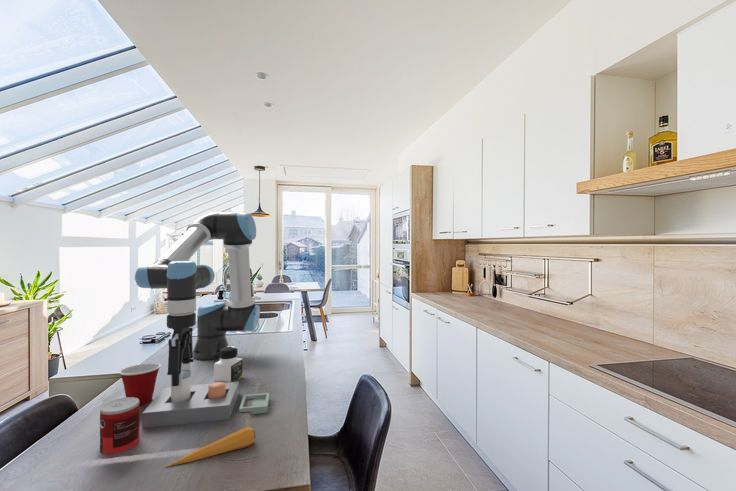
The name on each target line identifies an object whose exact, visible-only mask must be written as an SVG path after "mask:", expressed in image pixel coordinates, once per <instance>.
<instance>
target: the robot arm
mask: <svg viewBox="0 0 736 491" xmlns="http://www.w3.org/2000/svg"><path fill="white" fill-rule="evenodd" d="M256 238H257V226H256V222H255V219H254V217H253V216H252V214H250V213H247V212H240V211H239V212H234V211H233V212H218V211H217V212H209V213H207V214H204V215H202V216H200V217H198V218H196V219H195V220H194V221H192V222H191V223H190V224H189V225H187V227H186V231H185V232H184V234H183V235H181V236H180V237H179V238H178V239H177V241H175V242H174V243H173V245H171V246H170V247H169V248H168V249H167V250H166V251H165V252H164V253H163V254H162V255H161V256H160V257H159V258H158V259H156V261H155V262H154V263H152V264H145V265H141V266H139V267H138V268H137V269H136V271H135V274H134V280H135V283H136V285H137V286H138V287H139V288H142V289H151V290H155V289H157V290H158V289H166V302H165V303H164V305H165V306H166V312H167V315H166V327H167V328H168V329H172V330H173V332H172V335H171V338H169V339H168V362H167V364H168V365H167V368H168V369H167V372H166V375H167V376H170V387H171V397H178V396H182V373H181V370H189V371H191V363H194V359H195V360H200V361H208V360H215V359H220V350H221V349H222V348H224V347H227V346H230V344H229V343H228V339H227V337H226V333H227V332H236V333H237V332H239V333H240V332H242V333H243V332H244V333H246V332H252V331H255V330H256V329H257V326H258V324H259V321H260V315H261V309H260V305H258V304H256V300H255V299H254V298H252V287H251V286H252V284H251V265H250V248H249V247H250V246H251V245H252V244H253V240H255V239H256ZM211 240H222V241H223V245H224V247H226V248H227V257H228V270H229V271H228V272H229V284H230V285H229V287H230V301H229V302H228V303H226V301H216V302H209V303H206V304H203V305H200V306H199V307H198V308H197V290H199V289H205V288H207V287H209V286H210V285H212V283H213V282H214V280H215V276H216V275H215V271H214V269H213V268H212V267H211V266H209V265H206V264H197V263H196V262H195V261H192V260H190V259H191V258H192V256H194V254H196V252H197V251H198V250H199V249H200V248H201V247H202V245H204V244H208V242H210V241H211ZM196 311H197V313H196ZM195 325H196V326H197V328H196V329H197V330H196V332H197V333H196V334H197V335H196V337H197V338H196V342H195V344H194V347H193V330H194V329H193V327H194V326H195Z"/></svg>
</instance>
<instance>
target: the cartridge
mask: <svg viewBox="0 0 736 491" xmlns="http://www.w3.org/2000/svg"><path fill="white" fill-rule="evenodd" d="M181 373H182V396H178V397H171V403H173V402H184V401H190V398H191V384H192V382H191V381H192V380H191V378H192V371H191V370H190V371H189V370H181Z"/></svg>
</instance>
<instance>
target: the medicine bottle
mask: <svg viewBox="0 0 736 491" xmlns="http://www.w3.org/2000/svg"><path fill="white" fill-rule="evenodd" d="M242 377H243V358H239V357H238V348H237V346H232V345H231V346H230V345H229V346H227V347H224V348H222V349H221V350H220V358H219V360H218V361H216V362H215V363H214V364H213V382H225V383H229V382H235V381H237V380H239V379H240V380H241V378H242Z"/></svg>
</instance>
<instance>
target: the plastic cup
mask: <svg viewBox="0 0 736 491" xmlns="http://www.w3.org/2000/svg"><path fill="white" fill-rule="evenodd" d="M160 369H161V364H160V363H157V362H155V363H154V362H151V363H140V364H135V365H132V366H131V365H130V366H126V367H124V368H121V369H120V370H119V371H118V373H119V375H120V377H121V380H122V383H123V389H124V393H125V394H124V395H125V398H126V397H134V398H138V399H139V402H140V407H144V406H146V405H148V404H151V403H152V402H153V396H154V393H155V387H156V381H157V378H158V377H157V376H158V374H159V371H160Z"/></svg>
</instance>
